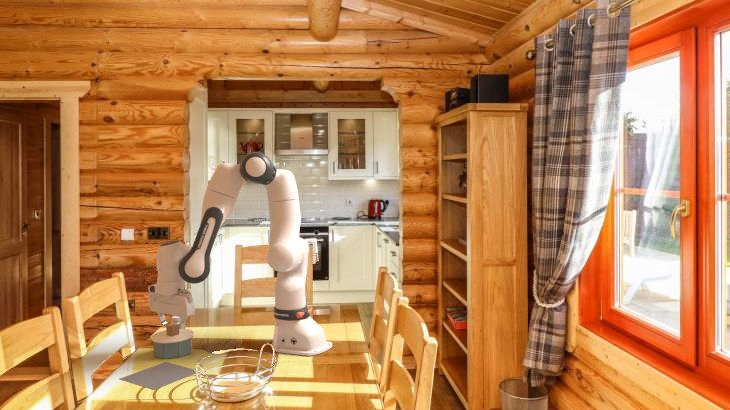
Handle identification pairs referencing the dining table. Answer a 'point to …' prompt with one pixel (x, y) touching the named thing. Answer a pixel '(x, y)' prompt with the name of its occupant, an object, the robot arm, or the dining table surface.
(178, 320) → the supplement bottle
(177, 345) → the grey octagonal ring
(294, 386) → the dining table surface
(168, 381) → the mat
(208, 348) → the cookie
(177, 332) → the lid
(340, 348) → the dining table surface
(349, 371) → the dining table surface
